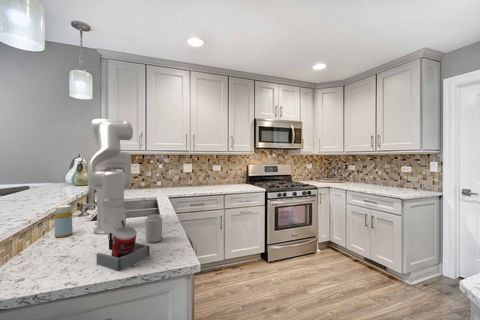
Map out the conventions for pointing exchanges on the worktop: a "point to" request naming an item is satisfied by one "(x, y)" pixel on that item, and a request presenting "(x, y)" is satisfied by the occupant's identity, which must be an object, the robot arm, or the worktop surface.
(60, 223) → the bottle
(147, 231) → the can
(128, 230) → the canned food
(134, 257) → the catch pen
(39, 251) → the worktop surface
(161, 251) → the worktop surface
